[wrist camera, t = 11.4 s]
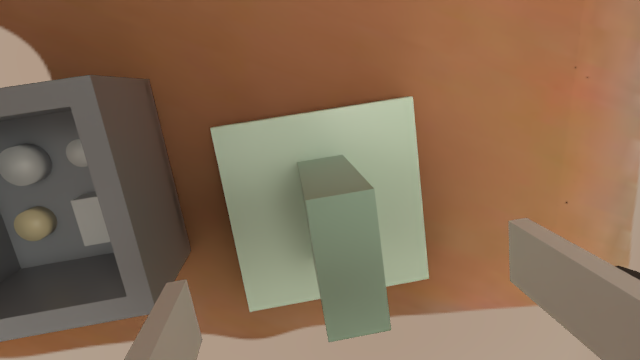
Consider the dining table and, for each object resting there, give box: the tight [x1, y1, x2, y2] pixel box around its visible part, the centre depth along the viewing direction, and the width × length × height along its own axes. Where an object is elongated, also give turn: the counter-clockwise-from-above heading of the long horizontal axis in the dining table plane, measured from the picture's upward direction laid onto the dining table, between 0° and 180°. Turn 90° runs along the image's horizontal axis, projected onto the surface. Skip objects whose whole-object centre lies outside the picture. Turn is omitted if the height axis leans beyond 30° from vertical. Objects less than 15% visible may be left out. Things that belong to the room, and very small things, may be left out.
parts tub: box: [0, 75, 191, 342], centre depth 22 cm, size 12×12×8 cm
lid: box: [210, 96, 429, 342], centre depth 23 cm, size 13×13×11 cm
